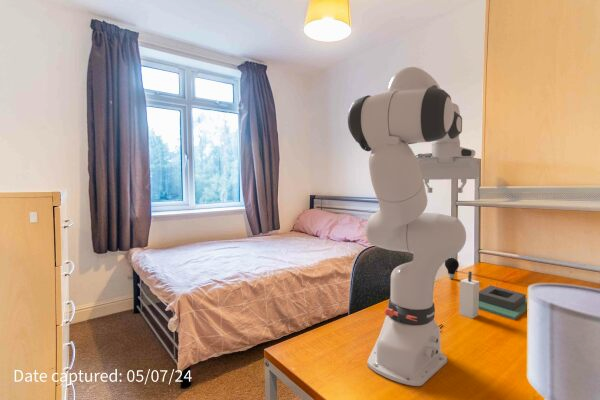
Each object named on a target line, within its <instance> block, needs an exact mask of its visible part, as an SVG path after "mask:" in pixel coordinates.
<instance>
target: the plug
mask: <svg viewBox="0 0 600 400" xmlns="http://www.w3.org/2000/svg"><path fill="white" fill-rule="evenodd" d="M472 274H473V273H472V271H470V270H469V271H468V275H467V278H463V279H461V280H459V308H458V309H459V311H458V314H459V315H461V316H463V317H466V318H469V319H474V318H475V317H478V316H479V309H478V307H479V291H480V281H479V280H475V279H472Z"/></svg>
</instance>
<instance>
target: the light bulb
mask: <svg viewBox="0 0 600 400" xmlns="http://www.w3.org/2000/svg"><path fill="white" fill-rule="evenodd" d="M459 264H460V263H459V261H458V259H456V258H454V257H450V258H449V259H447V260H446V261H445V262H444V267H445V268H446V269H447V273H448V278H449V279H450V280H453V279H455V274H456V271H457V269H459V267H460V266H459Z"/></svg>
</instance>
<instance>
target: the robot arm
mask: <svg viewBox="0 0 600 400" xmlns="http://www.w3.org/2000/svg"><path fill="white" fill-rule="evenodd" d="M389 81H390V82H389V83H388V87H387V92H382V93H379V94H374V95H365V96H362V97H359V98H357V99H355V100H353V102H352V104H351V106H350V107H349V109H348V112H347V113H348V114H347V115H348V116H347V126H348V130H349V133H350V135H351V136H352V137H353V139H354V140H355V142H356V143H358V144H359V147H360V148H361V149H362V150H363V151H366V152H370V155H369V158H368V165H369V166H368V168H369V174H370V180H371V184H372V187H373V188H372V189H373V190H374V191H373V192H374V193H375V196H376V200H377V202H378V205H379V210H378V211H376V212H374V213H372V214H371V215H370V216H369V217H368V218H367V221H366V224H365V228H364V229H365V237H366V238H367V241H368V242H369V243H370V245H372V246H374V247H378V248H380V249H384V250H388V251H394V252H395V251H396V252H404V253H410V254H412V255H413V256H412V260H411V261H408V262H405V263H401V264H400V265H398V266H396V267H395V268H393V270H392V271H391V274H390V296H389V298H388V303H387V307H385V310H384V315H385V318H384V321H383V324H382V326H381V330H380V333H379V336H378V337H377V340H376V342H375V344H374V346H373V348H372V349H371V352H370V354H369V357H368V359H367V363H366V365H367V367H368V368H370V369H371V370H372V371H373V372H375V373H376V374H378V375H381V376H382V377H384V378H387V379H389V380H391V381H394V382H397V383H400V384H404V385H407V386H413V387H422V386H423V385H424V384H425V383H426V382H428V380H429V379H430V378H432V377H433V376H434V375H435V374H436V373H438V371H439V370H440V369H441V368H442V367H444V366H445V365H446V364H447V363H448V357H447V356H446V354H444V353H443V352H442V351H441V350H442V349H441V345H442V343H441V329H440V326H438V324H437V322H436V321H435V314H436V308H435V303H434V300H433V299H434V289H435V282H436V281H435V280H436V276H437V275H438V271H439V269H440V267H442V265H443V264H445V261H446V260H447V259H449V258H453V257H454V256H456V255H457V254H458V253H459V252H461V251H462V249H463V248H464V246H465V244H466V241H467V232H466V227H465V226H464V224H463V223H462V221H461V220H460V219H459V218H458V217H455V216H451V215H446V214H443V213H436V212H435V213H434V212H432V213H431V212H424V211H426V209H427V205H428V195H427V193H428V194H432V193H433V187H430V185H429V183H430V180H434V181H435V180H437V181H439V180H440V181H441V180H460V183H461V185H460V186H459V187H456V194H457V193H458V194H462V193H463V192H464V191H463V188H464V187H465V186H466V184H467V181H468V180H477V179H478V178H479V175H480V169H479V162H478V160H477V158H475V156H476V150H474V149H470V148H466V147H462V146H461V141H460V134H461V133H462V132H463V116H461V115H460V114H461V112H460V107H459V105H458V104H456V103H455V102H454V103H453V101H452V97H451V96H450V94H449V93H448V92H447V91H446V90H444V89H442V88H441V87H440V85H439V84H438V82H437V81H436V79H435V78H434V77H432V75H431V74H430V73H428V72H427V71H425V70H423V69H422V68H420V67H416V66H410V67H408V66H407V67H405V68H403V69H400V70H399V71H398V72H396V73H395V74H394V75H393V76H392V77H391V79H390V80H389ZM417 143H418V144H419V143H431V152H430V153H429V152H428V153H417V154H416V155H415V152H414V151H413V149H412V148H411V147H410V145H413V144H417ZM426 188H427V190H426ZM426 191H427V192H426Z"/></svg>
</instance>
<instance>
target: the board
mask: <svg viewBox="0 0 600 400" xmlns="http://www.w3.org/2000/svg"><path fill="white" fill-rule="evenodd" d="M527 298H528V297H527V294H526V293H523V292H518V291H514V290H511V289H507V288H503V287H499V286H494V285H488V286H486V287H484V288H483V289H481V290H479V307H478V310H481V311H485V312H488V313H490V314H494V315H497V316H500V317H504V318H506V319H510V320H513V321H515V320H517V319H518V318H519V317H521V316H522V315H523V314H524V313H526V312H527V311H528V310H527Z"/></svg>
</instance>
